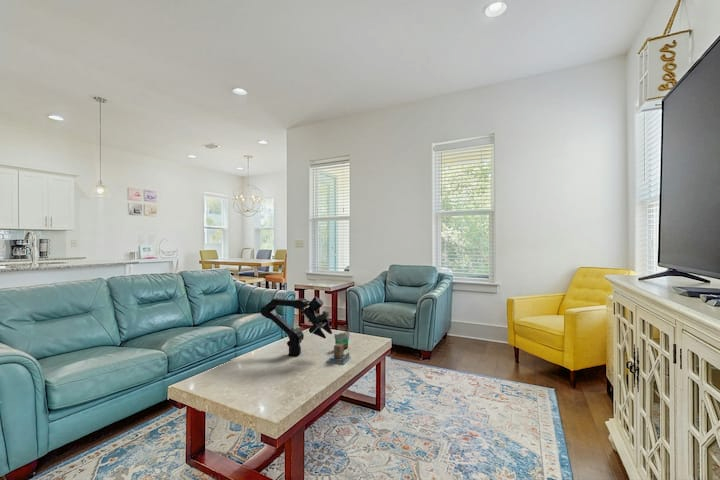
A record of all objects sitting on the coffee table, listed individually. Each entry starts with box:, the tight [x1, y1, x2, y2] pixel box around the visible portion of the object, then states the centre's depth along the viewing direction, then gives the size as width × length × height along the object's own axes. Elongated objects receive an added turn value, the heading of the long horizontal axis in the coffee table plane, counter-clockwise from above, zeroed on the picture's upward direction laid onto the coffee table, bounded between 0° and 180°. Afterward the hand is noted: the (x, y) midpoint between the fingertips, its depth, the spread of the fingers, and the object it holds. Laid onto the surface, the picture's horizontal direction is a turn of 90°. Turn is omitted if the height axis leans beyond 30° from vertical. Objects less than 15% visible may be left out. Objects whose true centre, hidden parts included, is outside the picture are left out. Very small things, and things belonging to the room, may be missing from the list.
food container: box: [334, 330, 351, 351], centre depth 215 cm, size 12×6×10 cm, turn 143°
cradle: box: [326, 352, 352, 365], centre depth 194 cm, size 11×11×3 cm
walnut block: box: [333, 343, 344, 359], centre depth 194 cm, size 4×5×8 cm
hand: (328, 335), depth 196 cm, fingers open, 9 cm apart
